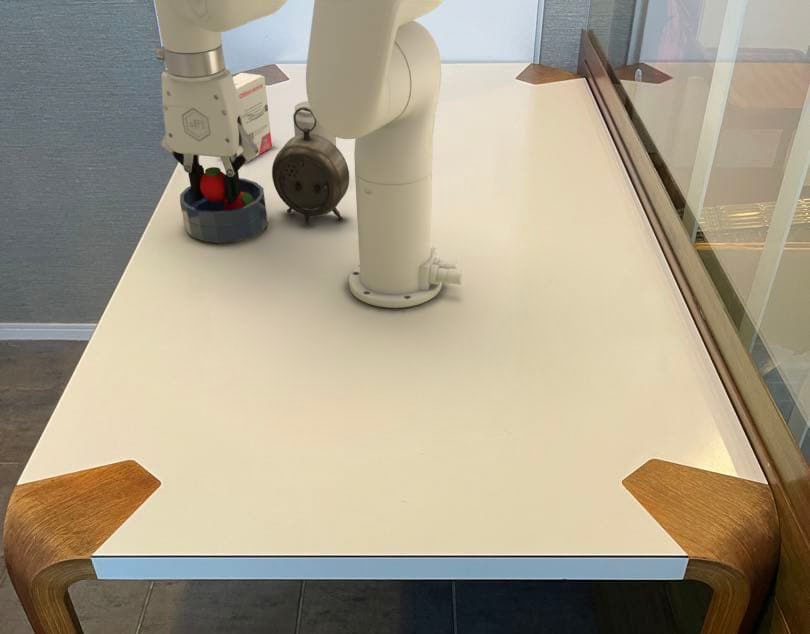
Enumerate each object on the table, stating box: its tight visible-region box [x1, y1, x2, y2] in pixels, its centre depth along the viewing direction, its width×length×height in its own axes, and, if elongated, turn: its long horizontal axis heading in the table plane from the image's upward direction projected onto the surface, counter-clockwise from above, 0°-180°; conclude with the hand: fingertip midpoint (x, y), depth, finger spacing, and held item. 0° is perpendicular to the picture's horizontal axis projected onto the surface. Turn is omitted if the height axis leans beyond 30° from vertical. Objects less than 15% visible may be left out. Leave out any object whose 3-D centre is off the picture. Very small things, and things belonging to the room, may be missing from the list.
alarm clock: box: [271, 107, 350, 227], centre depth 125 cm, size 11×5×16 cm, turn 73°
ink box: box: [232, 72, 273, 164], centre depth 146 cm, size 8×5×12 cm, turn 152°
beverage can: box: [292, 100, 337, 147], centre depth 136 cm, size 6×6×12 cm
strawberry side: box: [200, 166, 226, 203], centre depth 124 cm, size 4×4×4 cm
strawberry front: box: [224, 192, 254, 210], centre depth 128 cm, size 4×4×4 cm
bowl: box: [179, 177, 269, 243], centre depth 128 cm, size 12×12×5 cm
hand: (217, 197), depth 125 cm, fingers closed on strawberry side, 4 cm apart
